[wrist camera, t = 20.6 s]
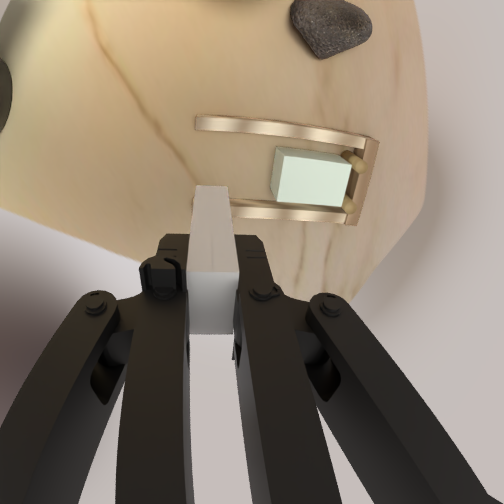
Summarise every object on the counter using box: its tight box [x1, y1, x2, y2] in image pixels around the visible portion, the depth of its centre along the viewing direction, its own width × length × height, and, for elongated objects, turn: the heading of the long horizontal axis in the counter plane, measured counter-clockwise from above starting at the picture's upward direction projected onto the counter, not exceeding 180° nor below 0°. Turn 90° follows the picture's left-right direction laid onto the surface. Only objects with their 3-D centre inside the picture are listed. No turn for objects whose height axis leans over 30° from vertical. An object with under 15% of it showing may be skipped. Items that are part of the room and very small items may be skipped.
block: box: [270, 146, 352, 207], centre depth 37 cm, size 9×6×5 cm, turn 83°
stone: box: [291, 0, 372, 59], centre depth 26 cm, size 10×8×10 cm
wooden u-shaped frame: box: [192, 115, 380, 226], centre depth 36 cm, size 24×13×5 cm, turn 83°
